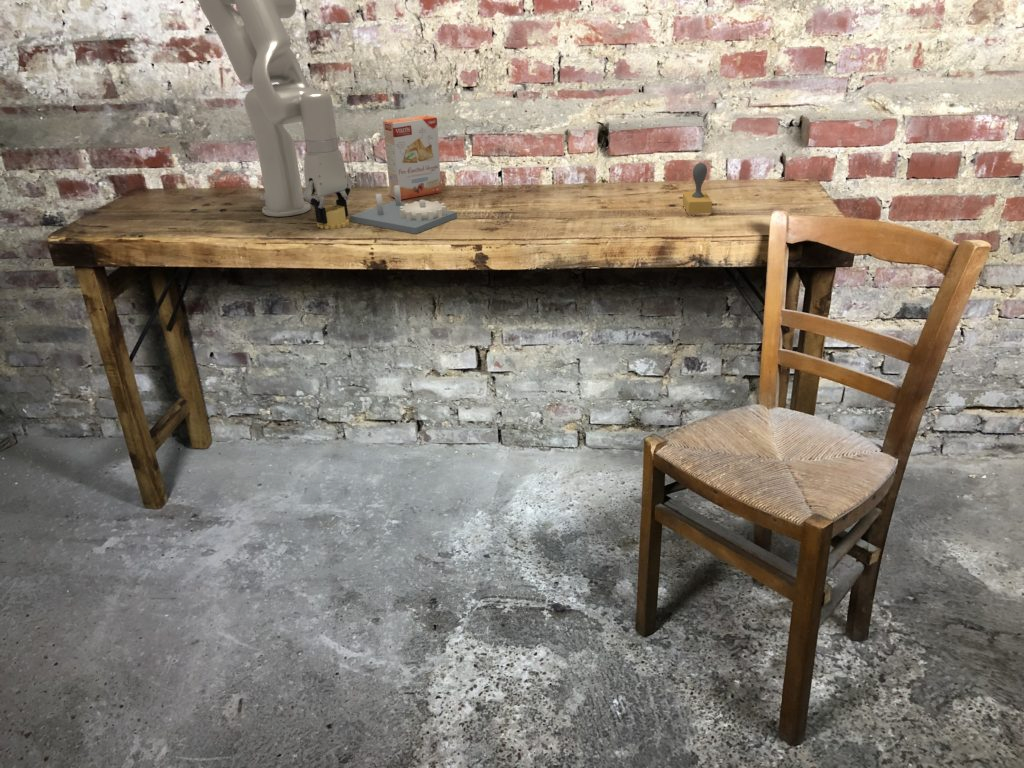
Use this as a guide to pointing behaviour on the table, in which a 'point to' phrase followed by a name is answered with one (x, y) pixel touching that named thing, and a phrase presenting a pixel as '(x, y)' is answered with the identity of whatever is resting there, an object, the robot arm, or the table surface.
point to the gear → (335, 217)
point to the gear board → (396, 220)
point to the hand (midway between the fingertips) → (332, 218)
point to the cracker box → (413, 155)
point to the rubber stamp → (698, 193)
